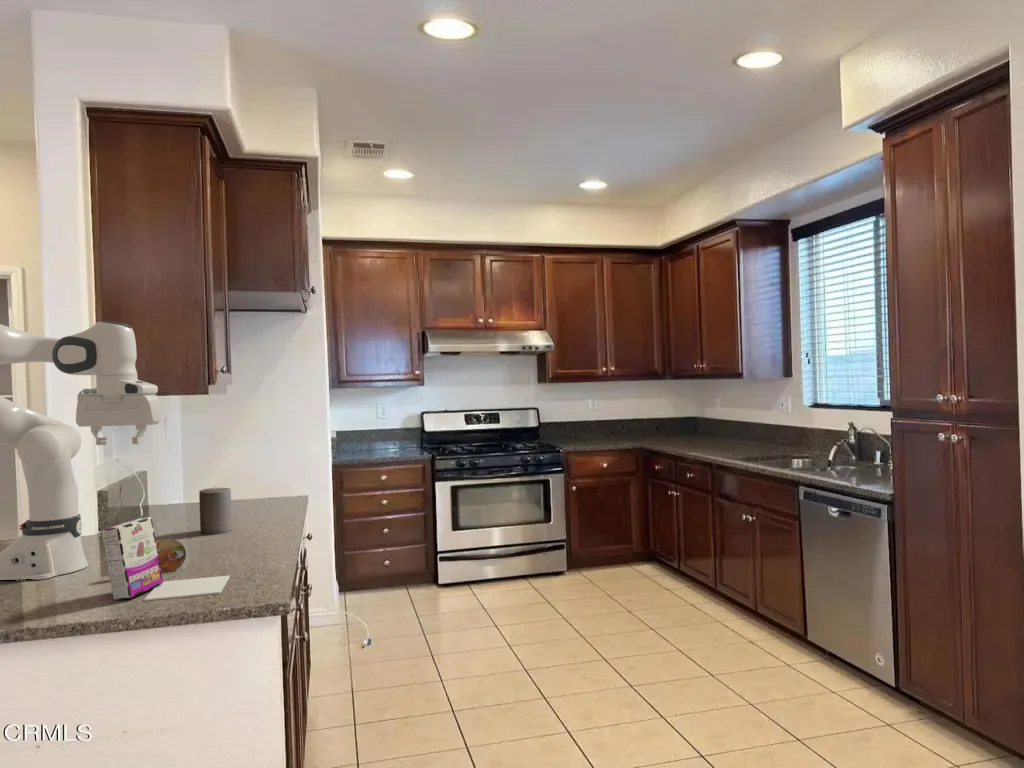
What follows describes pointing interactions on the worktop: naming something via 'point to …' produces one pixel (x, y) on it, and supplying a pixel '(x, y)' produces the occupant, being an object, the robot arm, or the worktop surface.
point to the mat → (188, 588)
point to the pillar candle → (215, 510)
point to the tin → (170, 554)
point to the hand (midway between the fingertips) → (119, 444)
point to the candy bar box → (132, 558)
